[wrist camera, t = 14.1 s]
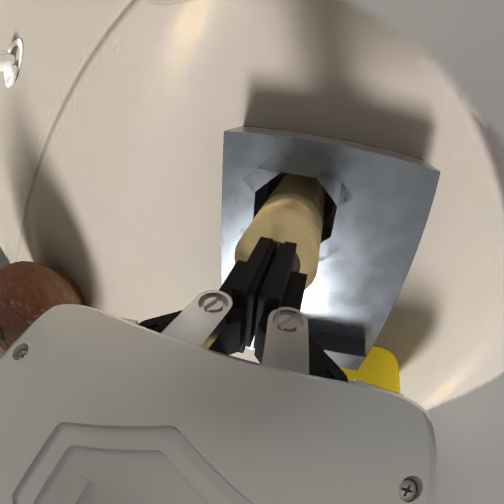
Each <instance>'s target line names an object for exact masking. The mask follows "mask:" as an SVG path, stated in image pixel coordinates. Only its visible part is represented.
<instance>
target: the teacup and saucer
mask: <svg viewBox="0 0 504 504" xmlns="http://www.w3.org/2000/svg"><path fill="white" fill-rule="evenodd" d="M16 45H18V46H19V48H20V58H19V63H18V66H16V65H14V63H15V55H13V54H10V52H11V50H12V49H13V47H14V46H16ZM0 52H3V53H6V54H0V72H1V71H4V78H5V84H6V87H10V86H12V85H13V83H14V82H15V79H16V76H17V73H18V71H19V68H20V65H21V60H22V55H23V43H22V40H21V39H20V38H17V39H16V40H14V42H13V43H12V44H11V46H10V48H9V50H8V51H6V50H0ZM7 69H9V70H8V72H7Z"/></svg>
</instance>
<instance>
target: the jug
mask: <svg viewBox="0 0 504 504" xmlns="http://www.w3.org/2000/svg"><path fill="white" fill-rule="evenodd" d="M61 304H78V305H83V304H82V298H81V296H80V293H79V291H78V289H77V287H76V286H75V285H74V283H73V282H72V281H71V279H70V278H69V277H68V276H67V275H66V274H64V273H63V272H61V271H58V270H51V269H50V268H48V267H46V266H44V265H42V264H39V263H35V262H27V261H21V262H15V263H12V264H9V265H6V266H4V267H2V268H1V269H0V359H1V357H2V356H3V355H4V354H5V353H6V351H7V350H8V349H9V348H10V347H11V346H12V344H13V343H14V342H15V341H16V340H17V339H18V338H19V337H20V336H21V334H22V333H23V332H24V331H25V330H26V329H27V328H28V327H29V326H30V325H31V324H32V323H33V322H34V321H36V320H37V319H38V318H39V317H40V316H41V315H42V314H44V313H45V312H46V311H48V310H49V309H51V308H52V307H54V306H57V305H61Z"/></svg>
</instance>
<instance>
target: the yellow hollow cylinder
mask: <svg viewBox="0 0 504 504" xmlns="http://www.w3.org/2000/svg"><path fill="white" fill-rule="evenodd" d="M341 369H342V370H343V372H344V373H345V374H346V376H347V378H348V379H350V380H353V381H354V380H355V378H356V379H359V380H362V381H365V382H368V383H370V384H373V385H376V386H379V387H382V388H385V389H388V390H392V391H395V392H398V393H400V381H399V369H398V361H397V359H396V357H395V356H394V355H393V354H392V353H391V352H389V351H388V350H386V349H383V348H380V347H376V346H372V348H371V350H370V352H369V353H368V355H367V357H366V359H365V360H364V361H363V362H362V364H361V366H360V367H359V369H358V370H351V369H345V368H341Z"/></svg>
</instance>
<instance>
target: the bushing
mask: <svg viewBox="0 0 504 504" xmlns="http://www.w3.org/2000/svg"><path fill="white" fill-rule="evenodd" d="M324 205H325V192H324V189H323V187H322V185H321V183H320V182H319V181H318V180H317V179H316V178H314V177H308V176H302V175H296V174H288V175H286V176H285V177H284V178H282V179H281V180H280V182H279V183H278V184H277V186H276V187H275V189H274V190H273V192H272V193H271V195H270V196H269V197H268V199H267V200H266V202H265V203H264V205H263V206H262V208H261V209H260V210H259V212H258V213H257V215H256V216H255V218H254V219H253V221H252V222H251V223H250V225H249V226H248V228H247V229H246V231H245V232H244V234H243V235H242V237H241V238H240V240H239V241H238V243H237V245H236V248H235V254H234V260H235V263H236V262H237V261H238V260H241V261H246V262H247V260H248V258H249V257H250V255H251V253H252V251H253V249H254V248H255V246H256V244H257V242H258V241H259V239H260V237H266V238H271V239H273V242H276V243H277V247H276V252H277V250H278V247H279V245H280V243H281V244H284V243H285V241H287V242H292V243H297V248H296V254H295V260H294V266H293V271H294V272H299V273H304V274H308V275H307V280H306V286H305V290H306V289H307V288H308V287H309V286H310V285H311V284H312V282H313V281H314V279H315V277H316V273H317V268H318V261H319V253H320V244H321V235H322V226H323V216H324Z"/></svg>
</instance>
